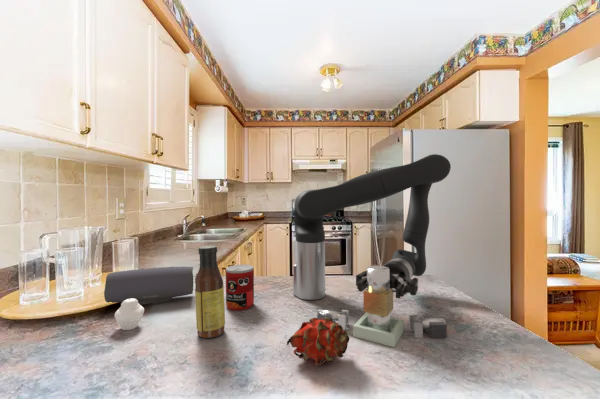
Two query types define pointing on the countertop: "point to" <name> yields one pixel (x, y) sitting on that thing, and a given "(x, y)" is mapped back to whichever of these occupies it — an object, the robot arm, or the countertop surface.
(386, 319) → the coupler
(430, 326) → the shaft
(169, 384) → the countertop surface
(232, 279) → the canned food
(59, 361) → the countertop surface
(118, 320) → the muffin
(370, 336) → the mint green tray
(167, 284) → the bluetooth speaker
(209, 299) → the sauce bottle
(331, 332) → the dragon fruit
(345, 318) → the shaft
